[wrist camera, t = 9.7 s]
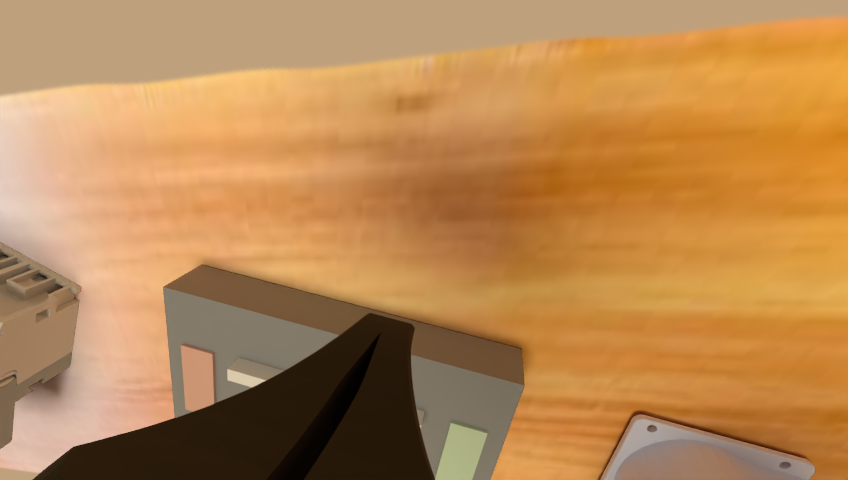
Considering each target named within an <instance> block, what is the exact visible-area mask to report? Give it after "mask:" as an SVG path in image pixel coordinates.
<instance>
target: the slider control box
mask: <svg viewBox="0 0 848 480" xmlns="http://www.w3.org/2000/svg"><path fill="white" fill-rule="evenodd" d="M163 290H164V302H165V313H166V324H167V335H168V346H169V357H170V368H171V380H172V391H173V402H174V413H175V418H177V417H180V416H182V415H185V414H188V413H191V412H194V411H196V410H199V409H202V408H205V407H207V406H210V405H212V404H215V403H217V402H219V401H222V400H224V399H227V398H229V397H231V396H234V395H236V394H238V393H241V392H243V391H245V390H248V389H250V388H252V387H254V386H256V385H258V384H260V383H262V382H264V381H266V380H268V379H270V378H272V377H274V376H276V375H278V374H279V373H281V372H283V371H285V370H286V369H288V368H290V367H292V366H293V365H295V364H297V363H298V362H300V361H301V360H303V359H305V358H306V357H308V356H310V355H311V354H313V353H314V352H316V351H317V350H319V349H320V348H322V347H323V346H325V345H326V344H328V343H329V342H330V341H332V340H333V339H335V338H336V337H338V336H339V335H340V334H342V333H343V332H344V331H346V330H347V329H348V328H350V327H351V326H352V325H354V324H355V323H356V322H357V321H359V320H360V319H361V318H363V317H364V316H365V315H367V314H369V313H373V314H377V315H380V316H384V317H388V318H392V319H396V320H399V321H403V322H407V323H411V324H412V325H413V326H414V328H415V331H414V336H413V341H412V346H411V368H412V382H413V390H414V397H415V404H416V409H417V415H418V420H419V425H420V429H421V433H422V437H423V441H424V445H425V448H426V452H427V456H428V459H429V462H430V465H431V468H432V471H433V474H434V477H435V480H490V479H491V477H492V474H493V471H494V468H495V466H496V463H497V460H498V457H499V454H500V452H501V449H502V446H503V443H504V441H505V438H506V435H507V432H508V430H509V427H510V424H511V421H512V419H513V416H514V413H515V410H516V408H517V405H518V402H519V399H520V397H521V394H522V391H523V388H524V373H523V361H522V349H520V348H516V347H512V346H509V345H505V344H501V343H497V342H493V341H490V340H486V339H482V338H478V337H474V336H471V335H467V334H463V333H459V332H455V331H452V330H448V329H444V328H440V327H436V326H433V325H429V324H425V323H421V322H417V321H414V320H410V319H406V318H402V317H398V316H395V315H391V314H387V313H383V312H379V311H376V310H372V309H368V308H364V307H360V306H357V305H353V304H349V303H345V302H341V301H338V300H334V299H330V298H326V297H322V296H319V295H315V294H311V293H307V292H303V291H300V290H296V289H292V288H288V287H285V286H281V285H277V284H273V283H269V282H266V281H262V280H258V279H254V278H250V277H247V276H243V275H239V274H235V273H231V272H228V271H224V270H220V269H216V268H212V267H209V266H205V265H200V266H199V267H197V268H195V269H193V270H192V271H190V272H188V273H186V274H185V275H183V276H181V277H180V278H178V279H176V280H174V281H173V282H171V283H169V284H168V285H166V286H164V287H163Z"/></svg>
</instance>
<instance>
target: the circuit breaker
mask: <svg viewBox="0 0 848 480" xmlns="http://www.w3.org/2000/svg"><path fill="white" fill-rule="evenodd" d="M6 255H7V256H9V257H7V256H6ZM41 274H42V275H44V276H46V277H47V278H48V279H47V278H45V277H43V276H41ZM60 285H61V286H63V288H61V289H60ZM79 292H81V286H79V285H77V284H75V283H73V282H71V281H70V280H68V279H66V278H64V277H62V276H61V275H59V274H57V273H55V272H53V271H51V270H50V269H48V268H46V267H44V266H42V265H40V264H39V263H37V262H35V261H33V260H31V259H30V258H28V257H26V256H24V255H22V254H20V253H19V252H17V251H15V250H13V249H11V248H9V247H8V246H6V245H4V244H2V243H0V449H1V448H2V447H4V446H5V445H7V444H8V443H9V442H11V440H12V432H13V419H14V406H15V402H16V401H17V400H19V399H20V398H22V397H23V396H25V395H26V394H28V393H30V392H31V391H33V390H31V389H29V388H28V387H29V386H31V385H33V384H34V383H36V382H37V381H39V382H41V383H45V382H47V381H48V380H50V379H51V378H53V377H54V376H56V375H57V374H59V373H61V372H62V371H64V370H65V369H67V368H68V367H69V366H70V363H71V356H72V349H73V342H74V335H75V328H76V321H77V314H78V307H79V301H78V300H76V299H74V298H75V294H76V293H79Z"/></svg>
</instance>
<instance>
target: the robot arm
mask: <svg viewBox="0 0 848 480" xmlns="http://www.w3.org/2000/svg"><path fill="white" fill-rule="evenodd" d="M414 331H415V328H414V326H413V325H412V324H411V323H407V322H403V321H399V320H396V319H392V318H388V317H384V316H380V315H377V314H373V313H369V314H367V315H365V316H364V317H363V318H361V319H360V320H359V321H357V322H356V323H355V324H354V325H352V326H351V327H350V328H348V329H347V330H346V331H344V332H343V333H342V334H340V335H339V336H338V337H336V338H335V339H333V340H332V341H330V342H329V343H328V344H326V345H325V346H323V347H322V348H320V349H319V350H317V351H316V352H314V353H313V354H311V355H310V356H308V357H306V358H305V359H303V360H301V361H300V362H298V363H297V364H295V365H293V366H292V367H290V368H288V369H286V370H285V371H283V372H281V373H279V374H278V375H276V376H274V377H272V378H270V379H268V380H266V381H264V382H262V383H260V384H258V385H256V386H254V387H252V388H250V389H248V390H245V391H243V392H241V393H238V394H236V395H234V396H231V397H229V398H227V399H224V400H222V401H219V402H217V403H215V404H212V405H210V406H207V407H205V408H202V409H199V410H196V411H194V412H191V413H188V414H185V415H182V416H180V417H177V418H173V419H170V420H167V421H164V422H161V423H158V424H155V425H152V426H149V427H145V428H142V429H139V430H135V431H131V432H128V433H124V434H120V435H117V436H113V437H109V438H106V439H102V440H98V441H94V442H91V443H87V444H83V445H79V446H75V447H73V448H71V449H70V450H69V451H68V452H66V453H65V454H64V455H62V456H61V457H60V458H59V459H57V460H56V461H55V462H53V463H52V464H51V465H50V466H48V467H47V468H46V469H45V470H43V471H42V472H41V473H40V474H39V475H38V476H36V477H35V478H34V479H33V480H435V477H434V474H433V471H432V468H431V465H430V462H429V459H428V456H427V452H426V448H425V445H424V441H423V437H422V433H421V429H420V425H419V420H418V415H417V409H416V404H415V397H414V390H413V382H412V368H411V346H412V341H413V336H414ZM650 425H653V426H651V427H648V426H650ZM814 472H815V467H814V466H813V465H812V463H811V462H810V461H809V460H807V459H805V458H801V457H797V456H794V455H790V454H786V453H783V452H779V451H775V450H772V449H768V448H764V447H760V446H757V445H753V444H749V443H746V442H742V441H738V440H735V439H731V438H727V437H724V436H720V435H716V434H713V433H709V432H705V431H702V430H698V429H694V428H691V427H687V426H683V425H680V424H676V423H672V422H669V421H665V420H661V419H658V418H654V417H650V416H646V415H641V414H640V415H636V416H634V417H633V418H632V419H631V421H630V423H629V425H628V427H627V429H626V431H625V433H624V435H623V437H622V439H621V440H620V442H619V444H618V446H617V448H616V450H615V452H614V454H613V456H612V458H611V460H610V462H609V463H608V465H607V467H606V469H605V471H604V473H603V475H602V477H601V479H600V480H809V478H810V477H811V476H812V475H813V474H814Z"/></svg>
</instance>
